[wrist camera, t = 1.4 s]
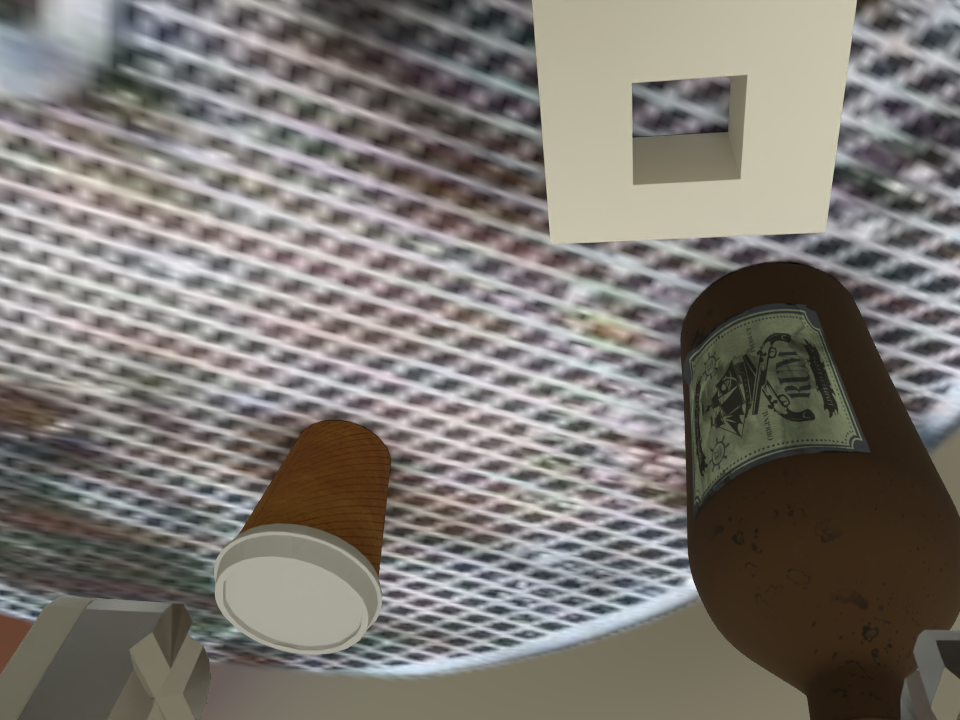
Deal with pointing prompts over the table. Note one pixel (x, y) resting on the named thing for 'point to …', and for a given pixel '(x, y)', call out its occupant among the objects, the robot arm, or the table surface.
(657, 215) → the hole block
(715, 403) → the brown glass bottle
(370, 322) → the table surface
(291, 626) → the disposable coffee cup
